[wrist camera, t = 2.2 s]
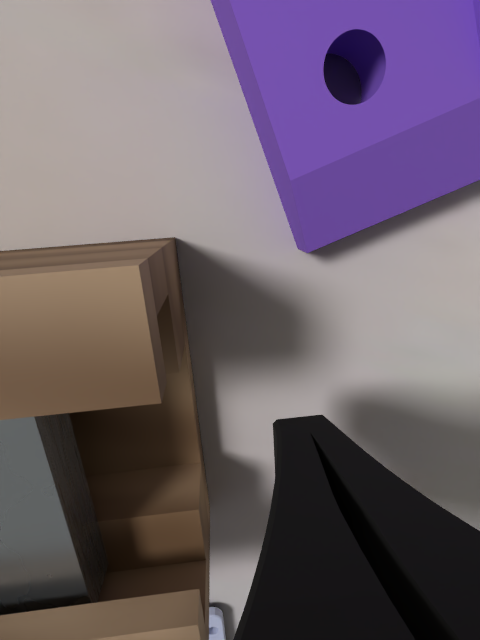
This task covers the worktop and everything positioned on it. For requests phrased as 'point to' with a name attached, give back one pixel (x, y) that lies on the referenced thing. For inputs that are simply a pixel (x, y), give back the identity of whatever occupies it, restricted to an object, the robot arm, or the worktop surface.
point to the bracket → (359, 105)
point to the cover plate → (46, 519)
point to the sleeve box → (115, 427)
